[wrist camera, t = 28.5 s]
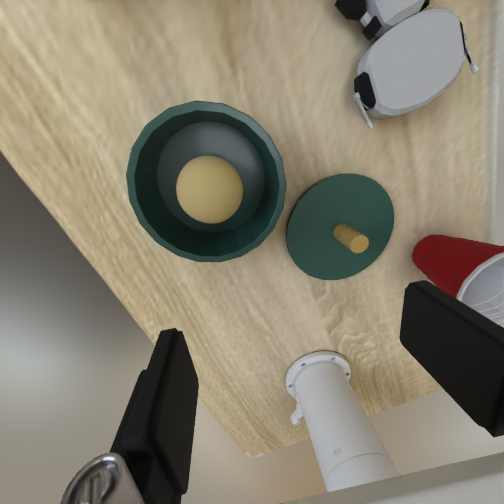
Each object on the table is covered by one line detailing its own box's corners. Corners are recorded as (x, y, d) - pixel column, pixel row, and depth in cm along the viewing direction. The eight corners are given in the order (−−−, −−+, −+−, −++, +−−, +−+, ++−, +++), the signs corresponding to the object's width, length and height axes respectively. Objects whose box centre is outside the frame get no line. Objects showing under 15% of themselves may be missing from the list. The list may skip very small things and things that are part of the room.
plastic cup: (386, 243, 37) (455, 283, 26) (452, 205, 36) (555, 229, 25) (405, 292, 41) (472, 344, 30) (465, 260, 40) (558, 301, 29)
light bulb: (226, 215, 32) (228, 241, 23) (179, 195, 30) (160, 215, 21) (246, 168, 30) (257, 176, 21) (197, 144, 28) (185, 142, 19)
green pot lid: (354, 287, 39) (376, 310, 34) (268, 259, 36) (276, 280, 30) (409, 198, 34) (446, 207, 29) (316, 154, 31) (337, 155, 25)
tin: (245, 249, 34) (252, 278, 27) (140, 214, 31) (112, 236, 23) (288, 146, 30) (311, 145, 22) (170, 91, 26) (148, 66, 18)
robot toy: (309, -2, 25) (354, 138, 30) (325, -37, 21) (375, 133, 26) (420, -68, 24) (448, 88, 29) (460, -119, 20) (485, 75, 25)
